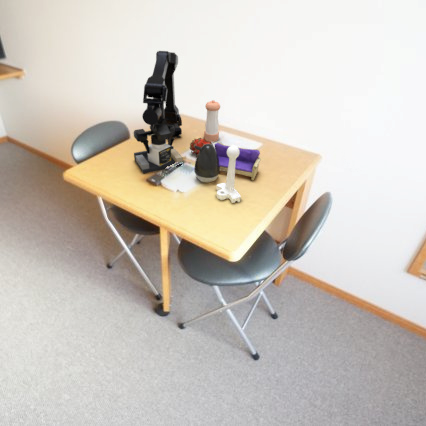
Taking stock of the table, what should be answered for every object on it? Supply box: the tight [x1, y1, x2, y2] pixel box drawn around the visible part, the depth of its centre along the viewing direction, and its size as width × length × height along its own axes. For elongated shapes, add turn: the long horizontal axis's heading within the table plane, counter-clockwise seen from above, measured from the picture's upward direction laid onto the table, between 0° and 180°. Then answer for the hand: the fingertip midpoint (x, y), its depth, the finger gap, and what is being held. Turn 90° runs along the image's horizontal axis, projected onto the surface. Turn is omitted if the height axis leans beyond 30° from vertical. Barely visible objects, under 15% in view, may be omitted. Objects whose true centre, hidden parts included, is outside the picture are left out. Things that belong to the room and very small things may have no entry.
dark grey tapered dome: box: [193, 144, 221, 183], centre depth 125 cm, size 10×10×15 cm
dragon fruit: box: [189, 137, 214, 156], centre depth 145 cm, size 8×8×12 cm
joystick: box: [216, 145, 242, 204], centre depth 114 cm, size 11×8×20 cm
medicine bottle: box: [148, 135, 171, 166], centre depth 133 cm, size 7×7×12 cm
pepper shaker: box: [203, 99, 221, 143], centre depth 155 cm, size 7×7×19 cm
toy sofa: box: [213, 141, 262, 181], centre depth 132 cm, size 21×9×10 cm, turn 70°
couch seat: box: [133, 145, 184, 175], centre depth 137 cm, size 18×12×4 cm, turn 117°
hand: (159, 151), depth 134 cm, fingers open, 9 cm apart
